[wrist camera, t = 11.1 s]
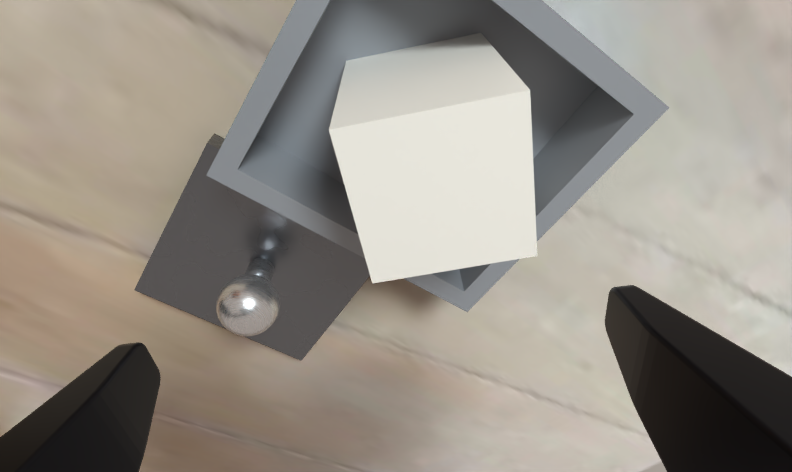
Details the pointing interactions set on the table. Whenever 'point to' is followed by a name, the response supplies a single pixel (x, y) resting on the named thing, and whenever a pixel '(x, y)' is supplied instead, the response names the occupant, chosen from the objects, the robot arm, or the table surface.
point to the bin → (408, 27)
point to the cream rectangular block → (436, 158)
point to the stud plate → (249, 266)
